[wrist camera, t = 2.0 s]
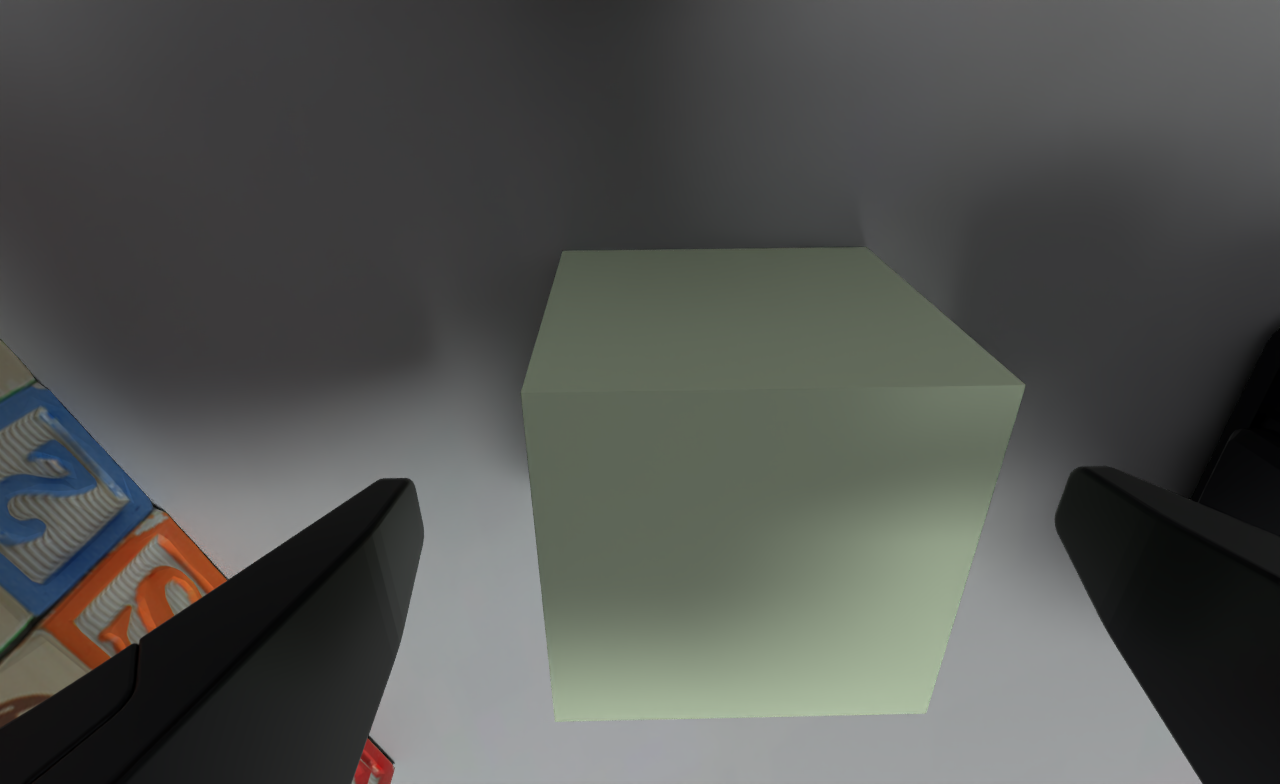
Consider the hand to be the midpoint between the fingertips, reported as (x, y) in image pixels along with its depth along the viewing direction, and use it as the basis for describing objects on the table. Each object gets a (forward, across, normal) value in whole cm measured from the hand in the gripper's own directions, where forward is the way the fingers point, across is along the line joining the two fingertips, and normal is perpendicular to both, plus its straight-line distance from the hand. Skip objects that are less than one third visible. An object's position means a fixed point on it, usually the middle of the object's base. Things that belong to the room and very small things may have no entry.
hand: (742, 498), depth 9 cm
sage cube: (+4, 0, 0) cm, 4 cm away
